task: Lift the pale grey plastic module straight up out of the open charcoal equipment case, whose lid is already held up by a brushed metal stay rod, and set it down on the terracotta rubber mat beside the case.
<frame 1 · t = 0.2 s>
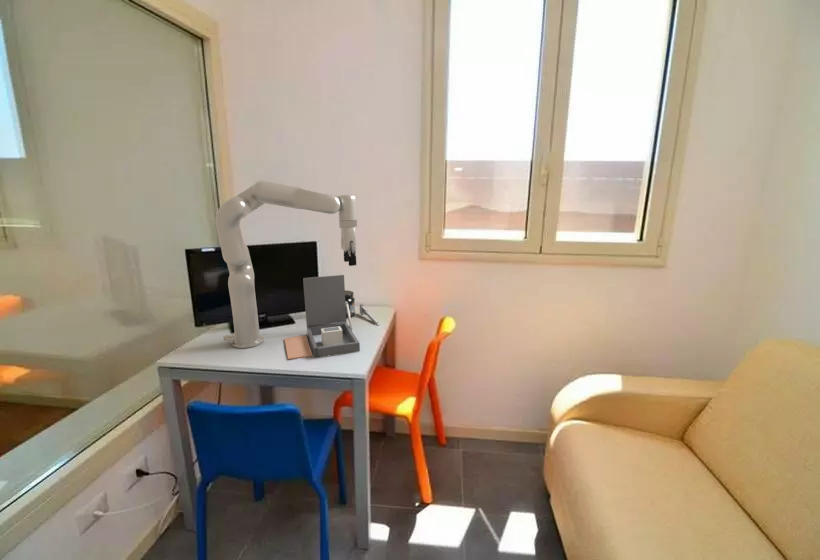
hand: (350, 263, 175), 31 cm above the table, tool pointing down, fingers open, 9 cm apart
module: (331, 335, 167), in the equipment case
caliper: (369, 320, 196), on the table
rubber mat: (297, 347, 162), on the table
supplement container: (344, 316, 201), on the table
equipment case: (332, 342, 167), on the table
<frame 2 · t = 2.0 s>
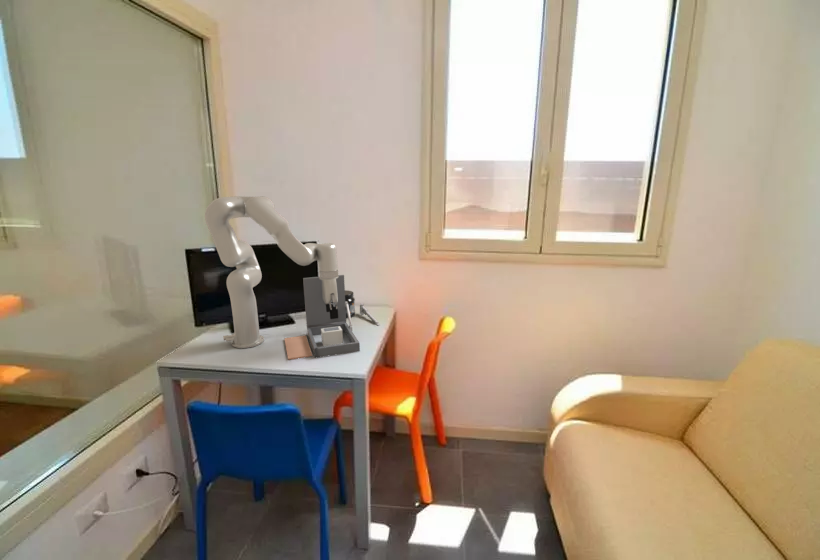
hand: (332, 314, 164), 12 cm above the table, tool pointing down, fingers open, 9 cm apart
nothing on the table moved.
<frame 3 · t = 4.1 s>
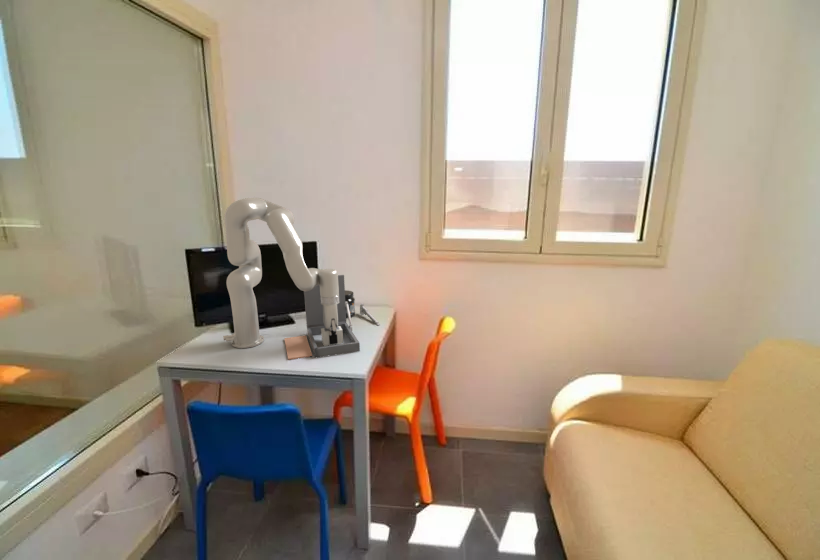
hand: (332, 340, 167), 1 cm above the table, tool pointing down, fingers closed on module, 5 cm apart
module: (332, 335, 167), in the equipment case, touching gripper
everything else where it was.
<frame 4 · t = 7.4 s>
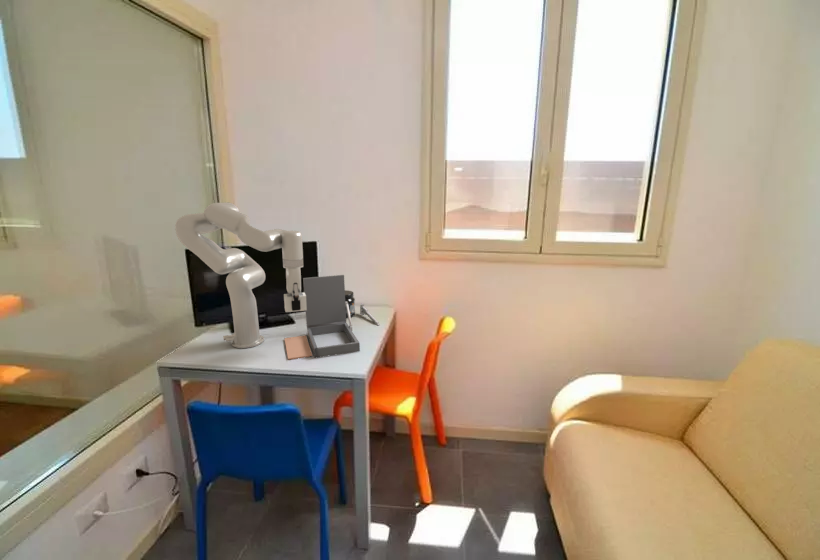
hand: (295, 307, 159), 17 cm above the table, tool pointing down, fingers closed on module, 5 cm apart
module: (295, 301, 158), point 19 cm above the table, touching gripper
everything else where it was.
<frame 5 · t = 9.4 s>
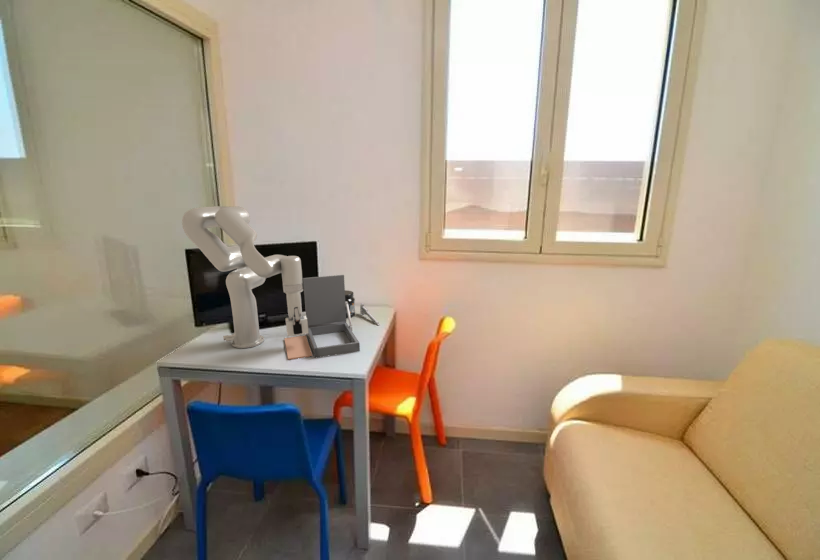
hand: (297, 330, 161), 7 cm above the table, tool pointing down, fingers closed on module, 5 cm apart
module: (296, 325, 160), point 10 cm above the table, touching gripper
everything else where it was.
when the fingers open (3 cm above the table, at t = 11.1 s): module drops 1 cm, resting on rubber mat.
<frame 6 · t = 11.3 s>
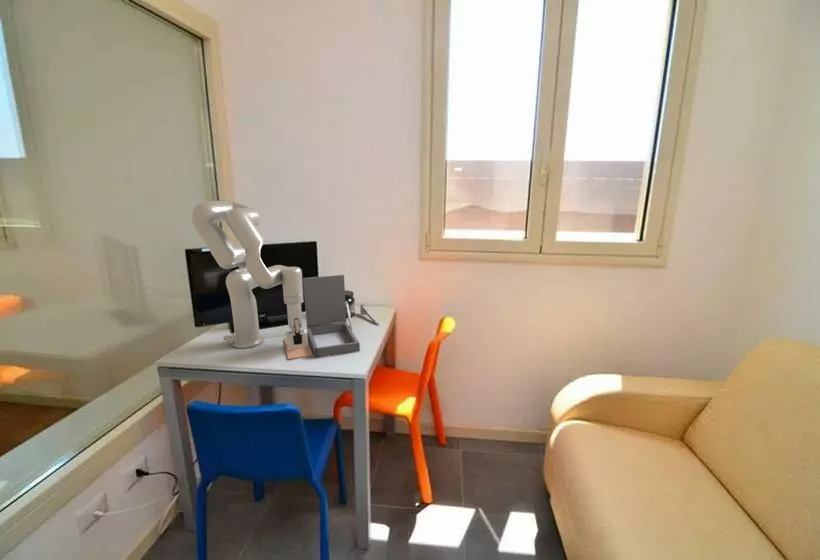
hand: (297, 340, 162), 3 cm above the table, tool pointing down, fingers open, 6 cm apart
module: (296, 338, 162), on the rubber mat, point 4 cm above the table
everything else where it was.
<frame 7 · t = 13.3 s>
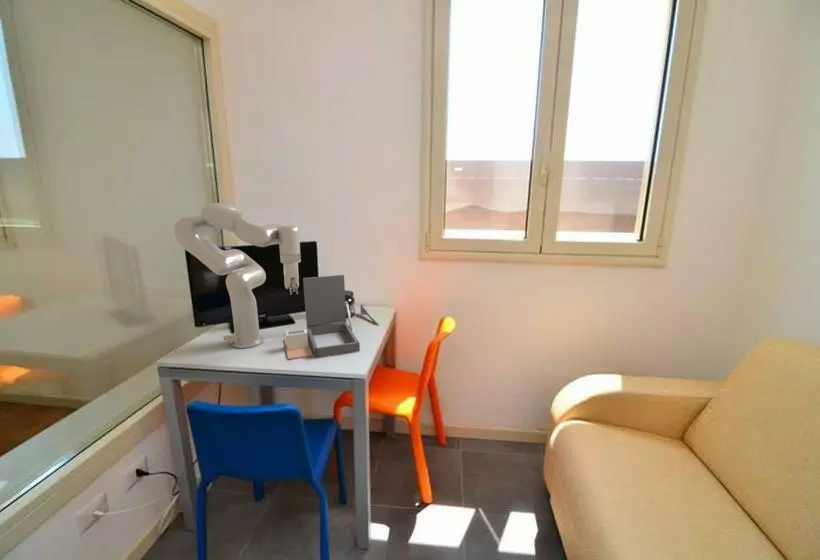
hand: (293, 300, 158), 20 cm above the table, tool pointing down, fingers open, 9 cm apart
nothing on the table moved.
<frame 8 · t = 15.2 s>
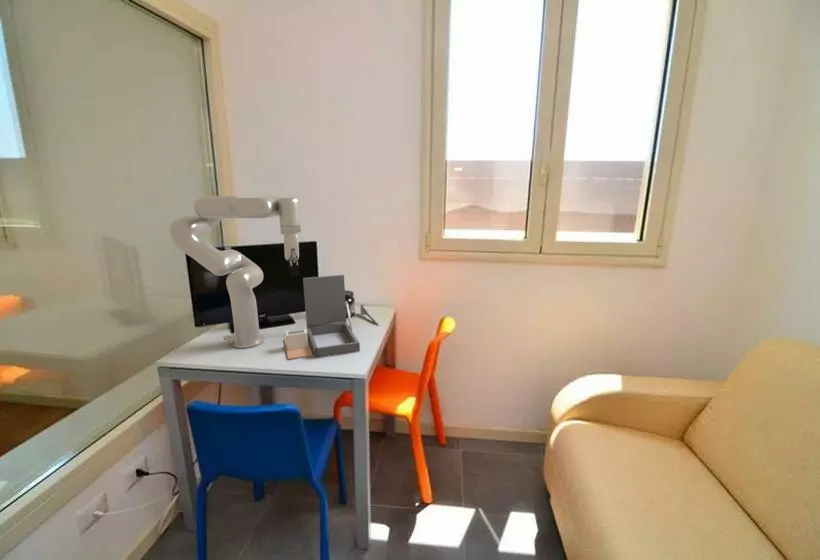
hand: (294, 273, 158), 30 cm above the table, tool pointing down, fingers open, 9 cm apart
nothing on the table moved.
at the end: module inside the target area on the rubber mat (0.0 cm from its centre), point 3.7 cm above the rubber mat's base; module touching rubber mat; the gripper is holding nothing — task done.
